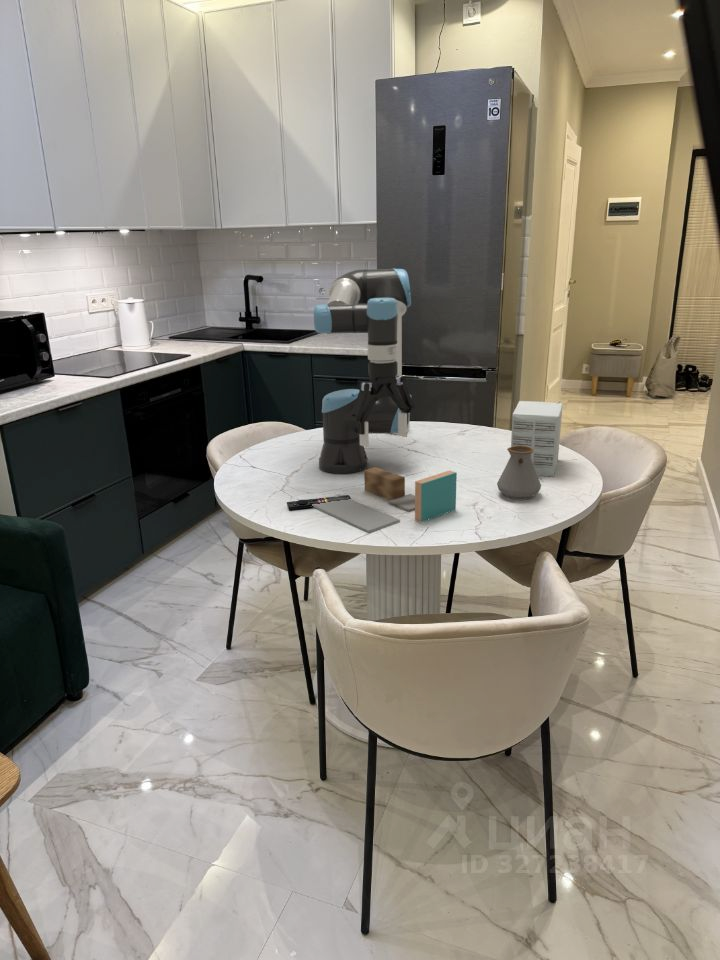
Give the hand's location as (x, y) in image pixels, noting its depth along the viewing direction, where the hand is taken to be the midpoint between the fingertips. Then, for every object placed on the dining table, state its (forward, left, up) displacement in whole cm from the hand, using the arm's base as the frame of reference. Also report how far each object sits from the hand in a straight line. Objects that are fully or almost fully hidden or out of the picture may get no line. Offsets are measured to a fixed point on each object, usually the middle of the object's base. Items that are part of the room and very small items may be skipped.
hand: (383, 441), depth 178 cm
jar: (-45, +46, -15) cm, 66 cm away
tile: (+19, 0, -15) cm, 25 cm away
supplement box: (+13, +49, -15) cm, 53 cm away
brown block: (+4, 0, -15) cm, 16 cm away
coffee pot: (+28, +22, -15) cm, 39 cm away
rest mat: (+5, -15, -15) cm, 22 cm away
